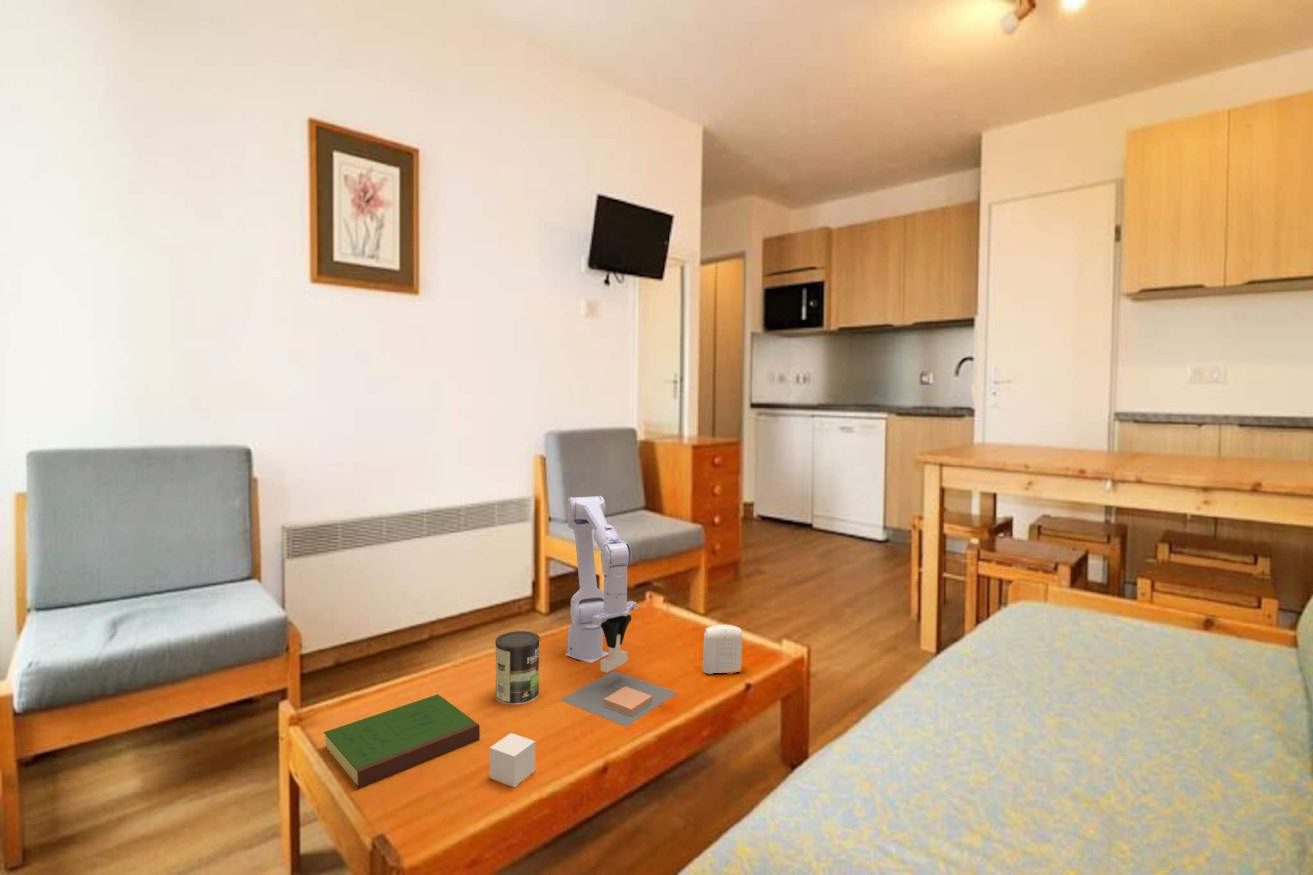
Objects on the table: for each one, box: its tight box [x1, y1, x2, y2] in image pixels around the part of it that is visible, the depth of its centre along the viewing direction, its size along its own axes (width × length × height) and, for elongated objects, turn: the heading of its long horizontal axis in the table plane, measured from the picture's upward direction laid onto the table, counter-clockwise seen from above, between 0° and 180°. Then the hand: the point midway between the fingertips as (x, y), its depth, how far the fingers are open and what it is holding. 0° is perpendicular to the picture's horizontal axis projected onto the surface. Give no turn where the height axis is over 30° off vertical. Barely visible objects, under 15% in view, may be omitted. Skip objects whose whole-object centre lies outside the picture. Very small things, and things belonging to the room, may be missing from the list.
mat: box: [559, 670, 678, 728], centre depth 152 cm, size 20×20×1 cm
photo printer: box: [702, 624, 743, 675], centre depth 167 cm, size 10×4×12 cm, turn 98°
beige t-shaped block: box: [600, 633, 628, 674], centre depth 158 cm, size 2×8×8 cm, turn 144°
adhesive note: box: [489, 733, 536, 788], centre depth 121 cm, size 6×6×6 cm
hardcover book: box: [323, 694, 481, 790], centre depth 131 cm, size 25×19×4 cm
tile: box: [604, 686, 652, 716], centre depth 148 cm, size 2×8×8 cm
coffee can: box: [494, 630, 541, 705], centre depth 152 cm, size 10×10×14 cm
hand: (614, 645), depth 158 cm, fingers closed on beige t-shaped block, 2 cm apart
